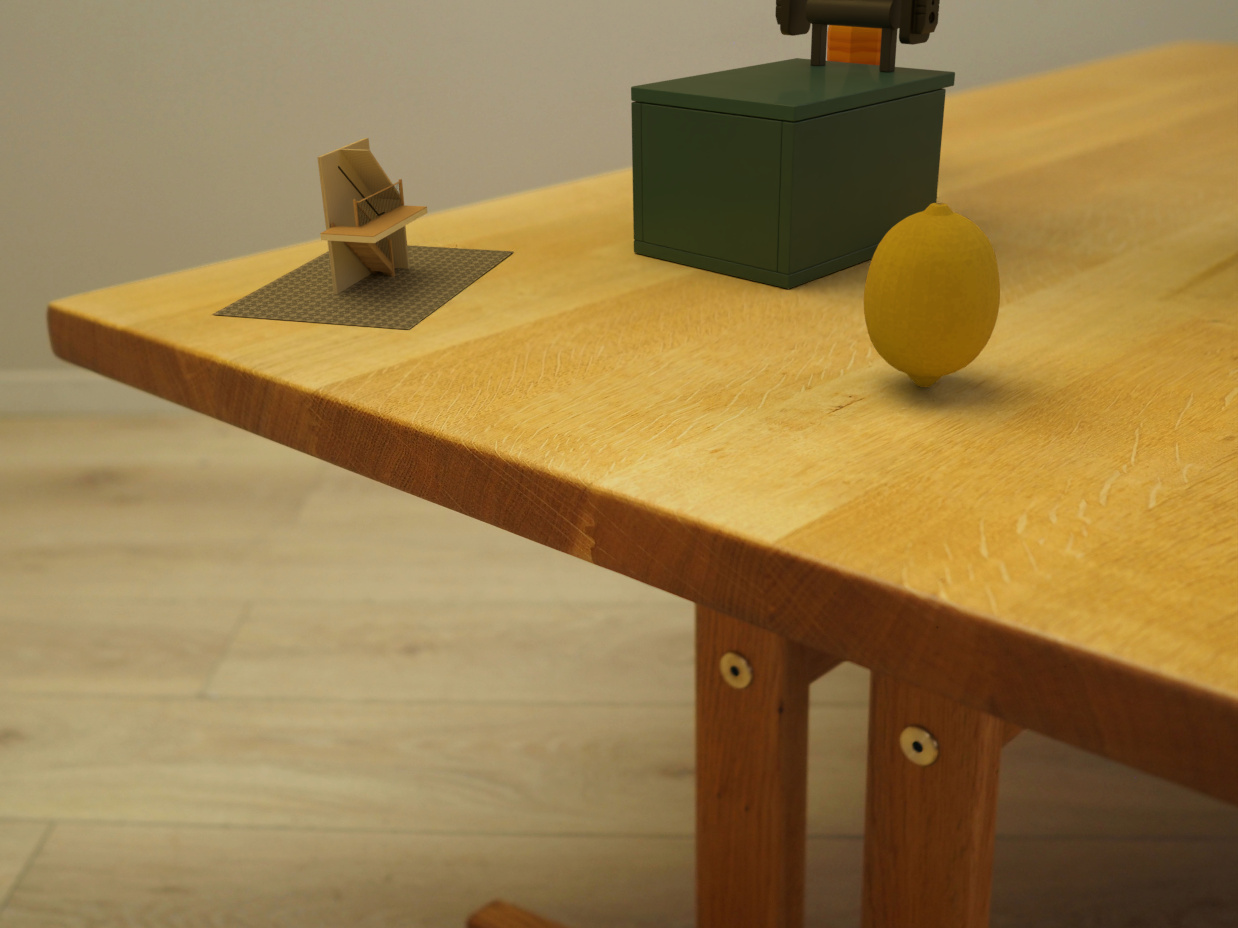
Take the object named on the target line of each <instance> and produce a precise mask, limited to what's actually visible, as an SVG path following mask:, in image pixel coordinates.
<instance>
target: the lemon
mask: <svg viewBox="0 0 1238 928" xmlns="http://www.w3.org/2000/svg"><path fill="white" fill-rule="evenodd" d="M870 260H871V261H870V264H869V267H868V270H867V275H866V278H865V284H864V292H863V314H864V321H865V325H866V329H867V334H868V337H869V340H870V342H871V344H872V346H873V348H874V349H875V351H876V352H877V353H878V355H879V356H880V357H881V358H882V359H883V360H884V361H885V362H886V363H887V364H888V365H889V366H891V367H892V368H894V369H895V370H897V371H899V372H901V373H904V374H906V375H907V376H908V377H909V379H910V380H911V381H912V382H913V383H914V384H915V385H916V386H917V387H919V388H931V387H932V386H933V385H934V384H935V383H936V382H938V381H939V380H940V379H941V378H942V377H944V376H947V375H952V374H954V373H957V372H958V371H961V370H963V369H964V368H966V367H967V366H969V365H970V364H971V363H972V362H974V360H976V359H977V358H978V356H979V355H980V354H981V353H982V351H983V350H984V349H985V347H986V346H987V344H988V342H989V340H990V339H991V337H992V335H993V332H994V329H995V327H996V323H997V320H998V316H999V311H1000V302H1001V284H1000V283H1001V282H1000V275H999V274H1000V273H999V265H998V261H997V257H996V252H995V249H994V247H993V245H992V243H991V241H990V239H989V237H988V236H987V235H986V233H985V232H984V231H983V230H982V229H981V228H980V227H979V226H978V225H977V224H976V223H974V222H973V221H972V220H970V219H969V218H967V217H965V216H963V214H962V215H961V214H960V213H957V212H955V211H953V210H952V209H951V207H950V206H949V205H948V203H945V202H936V203H932V204H930V205H929V206H928V207H927V208H926V209H925V210H924V211H922V212H918V213H916V214H913V215H911V216H909V217H907V218H905V219H903V220H902V221H900V222H899V223H897V224H896V225H895V226H893V227H892V228H891V229H890V230H889V231H888V232H887V233H886V235H885V236H884V237H883V239H882V240H881V242H880V243H879V245H878V247H877V249H876V251H875V253H874V255H873V258H872V259H870Z"/></svg>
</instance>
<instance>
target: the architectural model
mask: <svg viewBox="0 0 1238 928" xmlns="http://www.w3.org/2000/svg"><path fill="white" fill-rule="evenodd" d="M317 166H318V175H319V181H320V190H321V191H320V192H321V198H322V206H323V214H324V215H323V216H324V223H325V230H324V231H322V232H320V234H319V235H320V241H327V248H328V251H326V252H324V253H322V254H320V255H318V256H316V257H315V258H313V259H312V260H309V261H308V262H305V263H304V264H302V265H300V266H299V267H297V268H294V269H293V270H291V271H289V272H288V273H286V274H284V275H282V276H280V277H278V278H276V279H274V280H273V281H271V282H269V283H267V284H265V285H263V286H261V287H260V288H258V289H256V290H255V291H252V292H250V293H249V294H247V295H245V296H243V297H242V298H239V299H237V300H236V301H233V302H232V303H230V304H228V305H227V306H225V307H223V308H221V309H219V310H217V311H215V312H214V313H213V315H214V316H215V315H217V316H229V317H241V318H253V319H254V318H255V319H267V320H269V319H270V320H281V321H293V322H307V323H318V324H319V323H321V324H331V325H332V324H333V325H334V324H335V325H344V326H345V325H348V326H359V327H373V328H384V329H385V328H386V329H398V330H410V329H411V328H413V327H414V326H416V325H417V324H418V323H420V322H421V321H422V320H423V319H425V318H427V317H428V316H429V315H430V314H432V313H434V311H436V310H438V309H439V308H440V307H442V306H443V305H444V304H445V303H447V302H448V301H449V300H451V299H452V298H453V297H455V296H456V295H457V294H459V293H461V291H463V290H465V289H466V288H467V287H468V286H469V285H471V284H472V283H474V282H475V281H476V280H478V279H479V278H480V277H482V276H483V275H484V274H486V273H487V272H488V271H490V270H491V269H492V268H494V267H496V266H497V265H498V264H500V263H501V262H502V261H503V260H504V259H506V258H507V257H509V256H510V255H512V254H513V253H514V252H515V251H513V250H498V249H497V250H496V249H495V250H494V249H481V248H480V249H479V248H478V249H477V248H463V247H462V248H458V247H445V246H428V245H427V246H425V245H410V244H409V245H408V239H407V227H406V226H407V225H409V224H411V223H412V222H415V221H416V220H418V219H419V218H422V217H424V216H425V215H426V214H428V206H427V205H426V206H425V205H424V206H423V205H405V199H404V198H405V197H404V188H403V186H404V185H403V179H402V178H399V179H398V181H397V182H395V183H393V182H392V180H391V179H390V178H389V176H388V174H387V173H386V172H385V170H384V168H383V167H382V165H381V164H380V163H379V161H378V160H377V159H376V157H375V155H374V154H373V152H372V151H371V149H370V139H369V137H364V138H361V139H358V140H356V141H354V142H352V143H348V144H346V145H343V146H341V147H339V148H337V149H333V150H331V151H329V152H327V153H323V154H321V155H319V156H317Z"/></svg>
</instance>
